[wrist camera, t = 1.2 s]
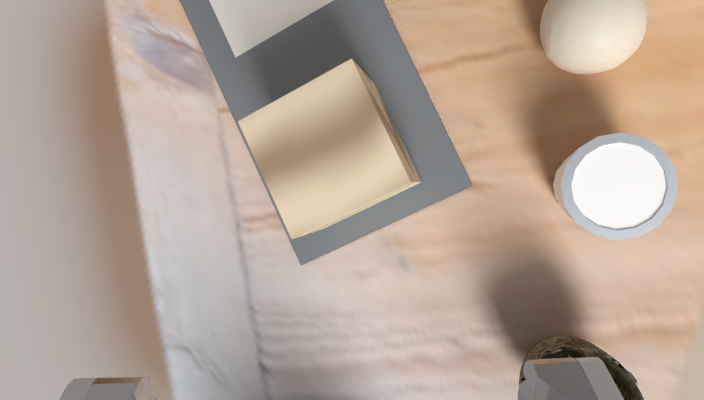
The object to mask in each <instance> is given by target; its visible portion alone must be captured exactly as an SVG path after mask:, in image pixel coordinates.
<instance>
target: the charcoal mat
mask: <svg viewBox="0 0 704 400" xmlns="http://www.w3.org/2000/svg"><path fill="white" fill-rule="evenodd" d="M180 2H181V4H182V6H183V8H184V10H185V13H186V15H187V17H188V19H189V21H190V24H191V26H192V28H193V30H194V32H195V34H196V37H197V39H198V41H199V43H200V45H201V48H202V50H203V52H204V54H205V56H206V59H207V61H208V63H209V65H210V67H211V69H212V72H213V74H214V76H215V78H216V80H217V83H218V85H219V87H220V89H221V91H222V93H223V96H224V98H225V100H226V102H227V104H228V107H229V109H230V111H231V113H232V115H233V118H234V120H235V122H236V124H237V126H238V128H239V131H240V133H241V135H242V137H243V139H244V142H245V144H246V146H247V148H248V150H249V152H250V155H251V157H252V159H253V161H254V163H255V166H256V168H257V170H258V172H259V174H260V176H261V179H262V181H263V183H264V185H265V187H266V190H267V192H268V194H269V196H270V198H271V201H272V203H273V205H274V207H275V209H276V211H277V214H278V216H279V218H280V220H281V222H282V225H283V227H284V229H285V231H286V233H287V235H288V238H289V240H290V242H291V244H292V246H293V249H294V251H295V253H296V255H297V257H298V260H299V262H300V264H301V265H303V264H305V263H308V262H310V261H312V260H314V259H316V258H318V257H320V256H323V255H325V254H327V253H329V252H331V251H333V250H335V249H338V248H340V247H342V246H344V245H346V244H348V243H350V242H353V241H355V240H357V239H359V238H361V237H363V236H366V235H368V234H370V233H372V232H374V231H376V230H378V229H381V228H383V227H385V226H387V225H389V224H391V223H393V222H396V221H398V220H400V219H402V218H404V217H406V216H408V215H411V214H413V213H415V212H417V211H419V210H421V209H424V208H426V207H428V206H430V205H432V204H434V203H436V202H439V201H441V200H443V199H445V198H447V197H449V196H451V195H454V194H456V193H458V192H460V191H462V190H464V189H466V188H469V187H471V186H472V184H471V182H470V179H469V177H468V175H467V173H466V171H465V169H464V167H463V165H462V163H461V161H460V159H459V157H458V155H457V153H456V151H455V149H454V147H453V145H452V142H451V140H450V138H449V136H448V134H447V132H446V130H445V128H444V126H443V124H442V122H441V120H440V118H439V116H438V114H437V112H436V110H435V108H434V105H433V103H432V101H431V99H430V97H429V95H428V93H427V91H426V89H425V87H424V85H423V83H422V81H421V79H420V77H419V75H418V73H417V71H416V68H415V66H414V64H413V62H412V60H411V58H410V56H409V54H408V52H407V50H406V48H405V46H404V44H403V42H402V40H401V38H400V36H399V33H398V31H397V29H396V27H395V25H394V23H393V21H392V19H391V17H390V15H389V13H388V11H387V9H386V7H385V5H384V3H383V1H382V0H180ZM350 59H353V60H354V62H355V63H356V64H357V65H358V66H359V67H360V68H361V69H362V70H363V72H364V73H365V74H366V75H367V76H368V77H369V78H370V79H371V80H372V81H373V83H374V84H375V85H376V87H377V89H378V91H379V93H380V95H381V98H382V100H383V102H384V104H385V106H386V108H387V110H388V112H389V114H390V116H391V118H392V120H393V123H394V125H395V127H396V129H397V131H398V133H399V135H400V137H401V139H402V141H403V143H404V146H405V148H406V150H407V152H408V154H409V156H410V158H411V160H412V162H413V164H414V166H415V168H416V171H417V173H418V175H419V177H420V179H421V181H422V182H421V183H419V184H417V185H415V186H413V187H411V188H409V189H407V190H405V191H403V192H401V193H398V194H396V195H394V196H392V197H390V198H388V199H386V200H384V201H382V202H380V203H378V204H375V205H373V206H371V207H369V208H367V209H365V210H363V211H361V212H359V213H357V214H355V215H352V216H350V217H348V218H346V219H344V220H342V221H340V222H338V223H336V224H334V225H331V226H329V227H327V228H325V229H322V230H319V231H316V232H312V233H309V234H306V235H303V236H300V237H297V238H294V239H291V237H290V235H289V233H288V231H287V228H286V226H285V224H284V222H283V220H282V217H281V215H280V213H279V211H278V209H277V206H276V204H275V202H274V200H273V198H272V196H271V193H270V191H269V189H268V187H267V185H266V182H265V180H264V178H263V176H262V174H261V172H260V169H259V167H258V165H257V163H256V161H255V158H254V156H253V154H252V152H251V150H250V148H249V145H248V143H247V141H246V139H245V137H244V134H243V132H242V130H241V128H240V126H239V124H238V121H239V120H241V119H243V118H245V117H247V116H248V115H250V114H252V113H254V112H256V111H258V110H259V109H261V108H263V107H265V106H267V105H268V104H270V103H272V102H274V101H276V100H277V99H279V98H281V97H283V96H285V95H286V94H288V93H290V92H292V91H294V90H296V89H297V88H299V87H301V86H303V85H305V84H306V83H308V82H310V81H312V80H314V79H315V78H317V77H319V76H321V75H323V74H325V73H326V72H328V71H330V70H332V69H334V68H335V67H337V66H339V65H341V64H343V63H344V62H346V61H348V60H350Z"/></svg>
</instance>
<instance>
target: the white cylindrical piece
mask: <svg viewBox="0 0 704 400" xmlns="http://www.w3.org/2000/svg"><path fill="white" fill-rule="evenodd" d="M553 189H554V195H555V199H556V201H557V202H558V204H559V205H560V207H561V208H562V210H563V211H564V212H565V213H566V214H567V215H568V216H569V217H570V218H571V219H572V220H573V221H574V222H575V223H577V224H578V225H580V226H581V227H583V228H584V229H586V230H587V231H588V232H590V233H591V234H593V235H596V236H600V237H604V238H609V239H613V240H620V239H627V238H635V237H639V236H641V235H643V234H645V233H647V232H648V231H650V230H652V229H654V228H656V227H658V226H659V225H660V224H661V222H662V221H663V220H664V219H665V217H666V216H667V215H668V214H669V212H670V211H671V210H672V209H673V205H674V201H675V198H676V194H677V190H678V184H677V178H676V172H675V167H674V165H673V164H672V162H671V161H670V159H669V158H668V156H667V155H666V154H665V152H664V151H663V149H662V148H660V147H659V146H657V145H656V144H654V143H652V142H651V141H649V140H648V139H646V138H644V137H643V136H637V135H632V134H626V133H621V132H620V133H614V134H609V135H603V136H598V137H596V138H594V139H593V140H591V141H589V142H588V143H586V144H584V145H583V146H581V147H579V148H578V149H577V150H576V151H575V152H573V153H572V154H571V155H570V156H569V157H567V158H566V159H565V160H564V162H563V163H562V164H561V166H560V167H559V168H558V170H557V171H556V174H555V178H554V182H553Z"/></svg>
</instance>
